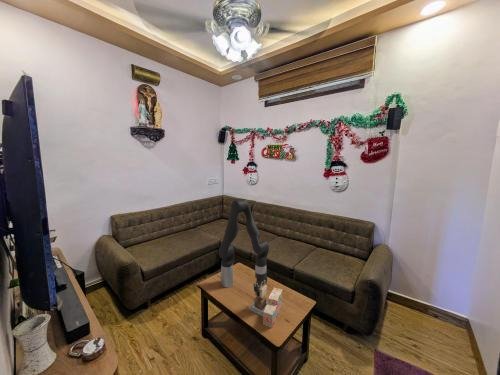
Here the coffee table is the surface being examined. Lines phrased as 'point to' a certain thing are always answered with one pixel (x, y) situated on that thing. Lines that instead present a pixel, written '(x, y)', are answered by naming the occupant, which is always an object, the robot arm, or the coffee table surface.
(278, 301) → the stack of blocks
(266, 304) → the build board
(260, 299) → the walnut block
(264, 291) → the maple block
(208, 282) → the coffee table surface
